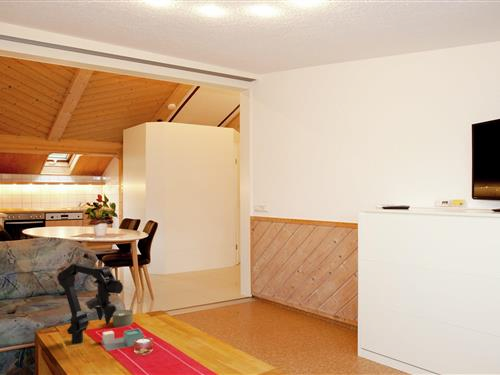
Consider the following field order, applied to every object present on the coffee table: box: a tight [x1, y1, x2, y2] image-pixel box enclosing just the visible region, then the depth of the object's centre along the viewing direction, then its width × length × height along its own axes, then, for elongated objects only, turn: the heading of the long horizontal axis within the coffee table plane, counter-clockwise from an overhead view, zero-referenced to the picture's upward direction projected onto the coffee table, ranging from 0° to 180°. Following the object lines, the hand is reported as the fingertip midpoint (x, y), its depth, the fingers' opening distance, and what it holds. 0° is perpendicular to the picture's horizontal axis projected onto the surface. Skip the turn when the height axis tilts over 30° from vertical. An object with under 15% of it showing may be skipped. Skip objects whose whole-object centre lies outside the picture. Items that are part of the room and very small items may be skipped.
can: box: [111, 309, 134, 328], centre depth 269 cm, size 12×12×7 cm
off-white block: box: [102, 330, 116, 344], centre depth 234 cm, size 5×5×5 cm
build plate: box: [100, 327, 144, 352], centre depth 233 cm, size 16×19×7 cm
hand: (103, 322), depth 229 cm, fingers open, 9 cm apart
